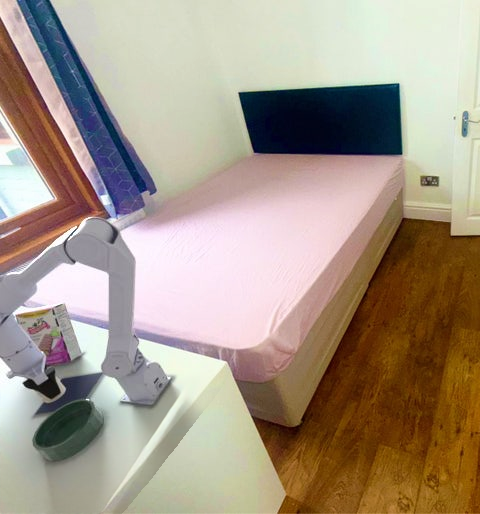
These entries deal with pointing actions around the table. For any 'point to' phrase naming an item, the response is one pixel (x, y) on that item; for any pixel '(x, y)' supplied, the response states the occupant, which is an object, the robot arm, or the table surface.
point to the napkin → (72, 391)
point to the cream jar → (56, 396)
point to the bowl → (68, 430)
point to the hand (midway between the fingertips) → (52, 390)
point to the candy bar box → (51, 332)
